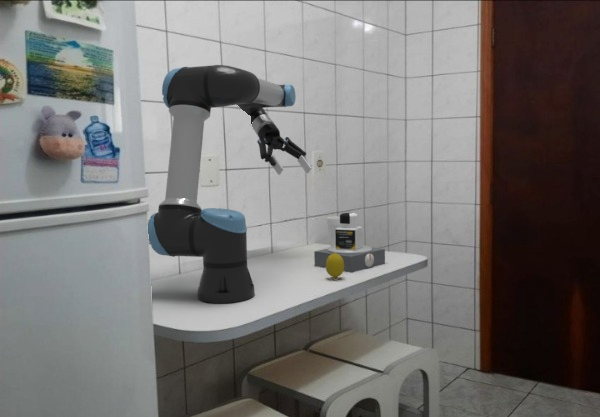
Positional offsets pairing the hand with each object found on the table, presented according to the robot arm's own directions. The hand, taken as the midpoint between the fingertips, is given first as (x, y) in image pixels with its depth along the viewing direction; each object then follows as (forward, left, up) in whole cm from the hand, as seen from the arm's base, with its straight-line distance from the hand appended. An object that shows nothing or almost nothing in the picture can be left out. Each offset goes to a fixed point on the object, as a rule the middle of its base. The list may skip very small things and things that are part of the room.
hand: (295, 171), depth 186 cm
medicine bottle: (+7, -18, -26) cm, 33 cm away
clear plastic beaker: (+26, +3, -32) cm, 42 cm away
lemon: (-12, -28, -32) cm, 44 cm away
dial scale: (+7, -18, -32) cm, 37 cm away
